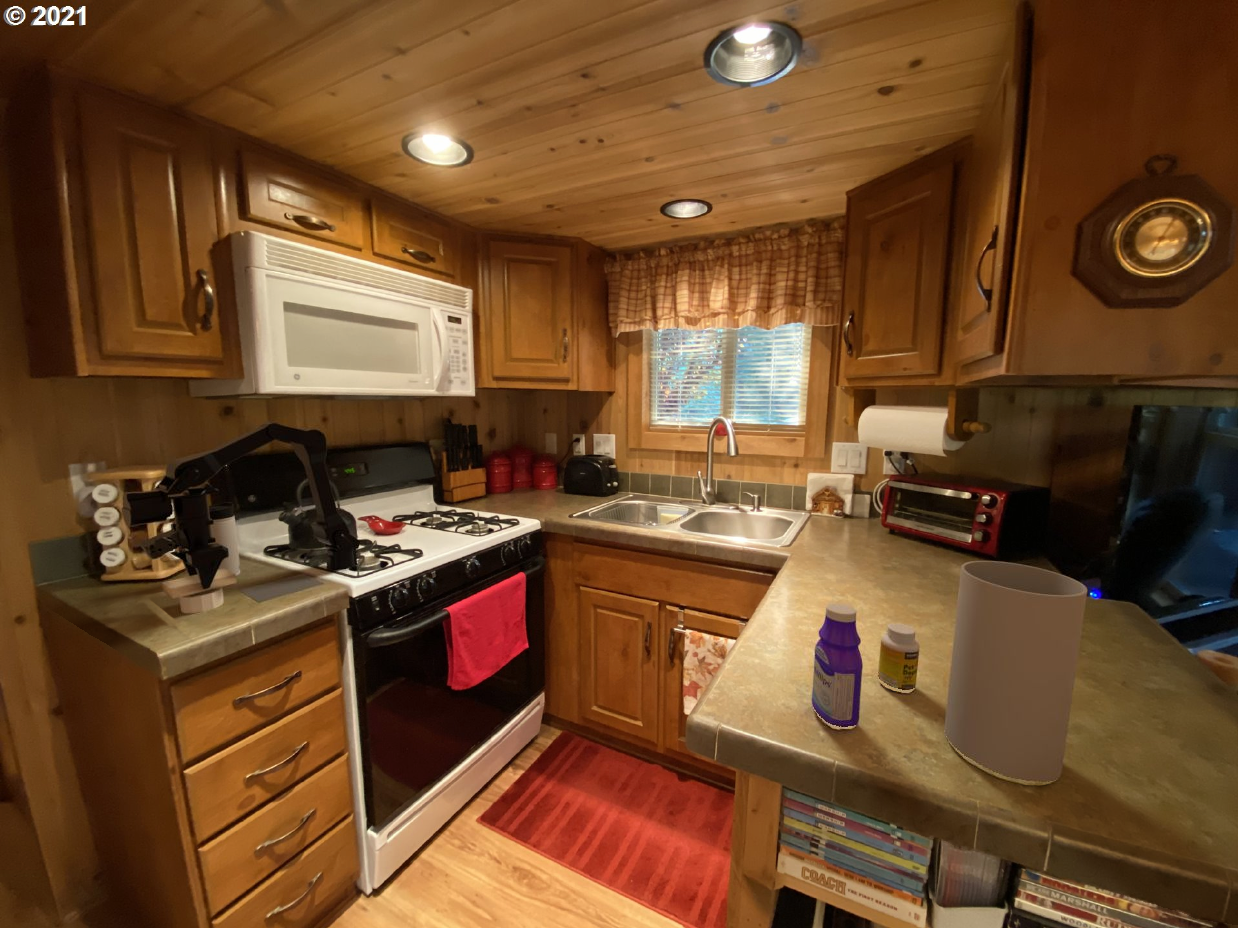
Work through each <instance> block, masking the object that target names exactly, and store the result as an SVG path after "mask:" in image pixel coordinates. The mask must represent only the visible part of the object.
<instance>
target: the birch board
mask: <svg viewBox="0 0 1238 928" xmlns="http://www.w3.org/2000/svg"><path fill="white" fill-rule="evenodd" d="M233 584H237V576H236V574H234V573H232V572H231V571H229V570H227V569H225V568H223V569H218V570H217V573H216V575H215V577H214V579H213V581H212V584H211V586H210V588H207V589H203V588H202V585H201V582H200V580H199V577H198V574H197V575H193V576H189V575H188V576H183V577H180V578H176V579H172V580H171V579H170V580H168V581H163V582H161V588H162V592H163V593H164V594H166V595H167V596H168V597H170V598H171V599H173V600H174V599H180V598H179V597H183V596H187V595H190V594H194V593H198V592H202V591H206V590H210V589H214V588H218V587H222V588H223V587H225V586H228V585H233Z"/></svg>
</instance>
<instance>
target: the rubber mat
mask: <svg viewBox="0 0 1238 928" xmlns="http://www.w3.org/2000/svg"><path fill="white" fill-rule="evenodd" d="M321 585H325V583H324V582H322V581H320V580H318V579H316V578H313V577H311V576H309V575H306V574H304V573H299V574H295V575H292V576H288V577H286V578H281V579H278V580H274V581H273V580H272V581H270V582H266V583H263V584H259V585H256V586H255V585H254V586H252V587H248V588H243V589H240V590H239V592H240V593H242V594H244V595H245V596H247V597H249V598H251V599H252V600H254V601H256V602H257V603H259V604H260V603H263V602H267V601H269V600H273V599H277V598H281V597H283V596H287V595H290V594H294V593H297V592H300V591H304V590H307V589H311V588H314V587H318V586H321Z"/></svg>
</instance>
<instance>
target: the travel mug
mask: <svg viewBox="0 0 1238 928" xmlns="http://www.w3.org/2000/svg"><path fill="white" fill-rule="evenodd" d="M208 506H209V514H210V519H212V520H213V522H214V524H212V525H211V532H212V537H215V540H216V542H214V543H218V544H220V545H222V546H224V547H226V548H228V553H229V557H227V558H225V559H224V560H223V561H222V563H221V564H220V566H219V568H218V569H223V568H225V569H227V570H229V571H231V572H232V573H234V574H236V577H238V576H240V574H241V567H240V566H241V564H240V554H239V545H238V544H239V543H238V537H237V536H238V535H237V526H236V525H237V523H236V517H235V513H234V512H235V511H234V510H235V509H234V504H233V502H232V501H225V502H223V503H216V504H211V505H208ZM209 544H213V543H209Z"/></svg>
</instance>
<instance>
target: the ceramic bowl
mask: <svg viewBox="0 0 1238 928" xmlns="http://www.w3.org/2000/svg"><path fill="white" fill-rule="evenodd" d="M178 599H179V604H180V605H179V606H180V612H182V613H183V614H198V613H203V612H208V611H210V610H214V609H216V608H218V607H220V606H222V605H223V604H224V591H223V586H222V587H218V588H214V589H210V590H206V591H202V592H198V593H194V594H190V595H187V596H183V597H179V598H178Z"/></svg>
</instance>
